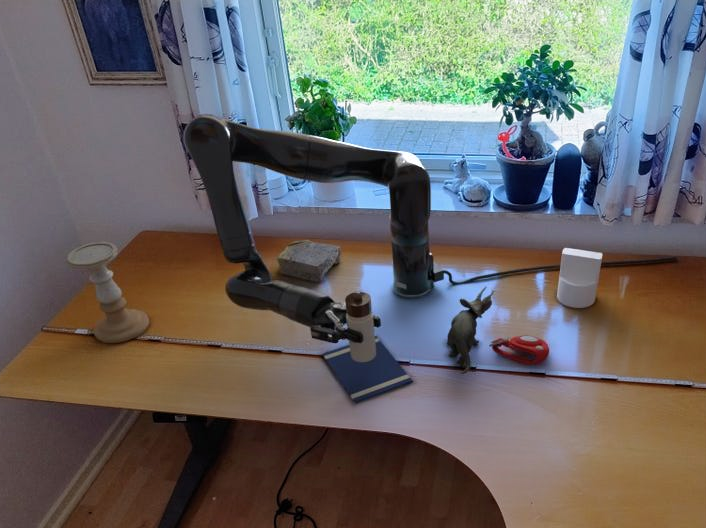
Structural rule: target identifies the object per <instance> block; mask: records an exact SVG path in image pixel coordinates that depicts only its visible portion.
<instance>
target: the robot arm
mask: <svg viewBox="0 0 706 528" xmlns="http://www.w3.org/2000/svg"><path fill="white" fill-rule="evenodd" d="M183 144H184V147H185V149H186V151H187V153H188V154H189V156H190V158H191V161H192V163H193V164H194V166H195V168H196V170H197V173H198V174H199V176H200V180H201V182H202V184H203V188H204V189H205V190H204V191H205V192H206V197H207V198H208V203H209V207H210V209H211V214H212V217H213V223H214V226H215V230H216V233H217V238H218V241H219V244H220V247H221V250H222V254H223V257H224V259H225V261H226V262H227V263H229V264H232V265H234V264H235V265H238V264H241V265H242V266H243V267H244V270H243V271H241V272H239V273H237V274H234V275H233V276H231V277H230V278H228V280H227V281H226V283H225V287H224V288H225V289H224V290H225V294H226V296H227V298H228V299H229V300H230V302H232V303H233V304H234V305H235V306H238V307H240V308H243V309H247V310H256V311H269V312H272V313H274V314H277V315H280V316H282V317H284V318H286V319H288V320H291V321H292V322H295V323H297V324H300V325H303V326H305V327H308V328H309V331H310V337H311V338H312V339H313V340H317V341H322V342H326V343H331V344H338V343H339V342H340V341H341V340H342V341H344V340H345V341H346V340H347V341H348V342H349V341H352V342H355V343H362V342H363V334H362V333H360V332H358V331H355V330H352V329H350V328H347V327H346V326H345V325H347V321H346V314H347V312H346V304H345V302H337V301H335V300H333V298H332V297H330V296H329V295H327V294H324V293H321V292H318V291H315V290H313V289H310V288H307V287H304V286H299V285H295V284H292V283H289V282H286V281H283V280H277V279H273V277H272V274H271V271H270V270H269V268H268V267H267V265H266V263H265V262H264V260H263V257H262V256H261V254H260V253H259V251H258V249H257V247H256V243H255V239H254V235H253V231H252V228H251V224H250V221H249V218H248V215H247V212H246V209H245V207H244V204H243V201H242V198H241V195H240V192H239V188H238V185H237V179H236V176H235V169H234V162H236V163H244V164H251V165H255V166H259V167H262V168H264V169H267V170H270V171H272V172H275V173H278V174H281V175H283V176H287V177H291V178H294V179H298V180H303V181H308V182H313V183H314V182H315V183H319V184H337V183H338V184H339V183H346V182H353V181H358V182H359V181H361V182H368V183H372V184H377V185H380V186H383V187H386V188H388V193H389V204H390V207H389V208H390V214H389V217H388V221H389V222H388V223H389V235H390V236H389V237H390V250H391V262H392V279H393V292H394V293H395V294H396V295H397V296H400V297H402V298H406V299H416V298H417V299H418V298H422V297H425V296H426V295H428V294H429V293H430V292H431V291H432V290H434V289H435V283H437V282H440V281H443V280H445V275H447V276H448V283H450V284H451V285H454V286H457V285H465V284H470V283H472V282H474V281H478V280H483V279H488V278H489V279H490V278H493V277H499V276H504V275H510V274H516V273H523V272H530V271H531V272H532V271H540V270H549V269H559V268H560V267H561V263H560V264H549V265H539V266H534V267H533V266H532V267H523V268H519V269H510V270H506V271H499V272H493V273H488V274H482V275H477V276H474V277H471V278H469V279H467V280H464V281H459V282H458V281H454V280H453V275H452V273H451V272H450V271H448V270H447V269H443V268H442V267H440V266H439V264H437V263H436V262H435V261H434V254H433V253H432V252H431V243H430V241H431V240H430V219H431V214H432V186H431V185H432V184H431V177H430V174H429V172H428V170H427V169H426V167H425V166H424V164H423V162H422V161H421V159H420V158H419V157H417V156H416V154H415V155H414V154H413V153H410V152H406V151H397V150H387V149H385V150H384V149H376V148H375V149H374V148H369V147H364V146H360V145H356V144H351V143H347V142H344V141H339V140H333V139H329V138H326V137H321V136H317V135H311V134H307V133H301V132H293V131H286V130H285V131H284V130H276V129H264V128H258V127H253V126H249V125H245V124H242V123H238V122H235V121H232V120H229V119H226V118H223V117H220V116H217V115H215V114H213V113H212V114H211V113H202V114H198V115H196V116H194V117H193V118H191V120H189V121H188V123H187V124H186V126H185V128H184V131H183ZM675 260H677V256H676V255H675V256H667V257H657V258H645V259H629V260H612V261H601V266H611V265H627V264H629V265H630V264H642V263H643V264H645V263H654V262H667V261H675ZM373 319H374V328H377V329H379V328H381V326H382V319H381V318H380V316H379V315H376V314H373Z"/></svg>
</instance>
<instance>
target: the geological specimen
mask: <svg viewBox="0 0 706 528" xmlns="http://www.w3.org/2000/svg"><path fill="white" fill-rule="evenodd" d="M341 249H342V248H341V246H339V245H333V244H328V243H322V242H316V241H310V240H309V239H305V240H297V241H293V242H291V243H289V244H288V245H287V246H286V247H285V249H284V250H283V251H282V252H281V253H280V254H279V255H278V257H277V258H276V259H277V260H276V262H277V263H278V266H279V267H280V268H281V269H280V271H279V274H281V275H286V276H290V277H293V278H298V279H303V280H306V281H307V280H308V281H311V282H314V283H315V282H316V283H322V282H323V278H324V276H325V275H326V274H327V273H328V271H329V270H330V269H331V268H332V267H333V265H334V266H336V265H338V264H340V263H341V256H342V251H341Z"/></svg>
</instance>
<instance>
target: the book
mask: <svg viewBox="0 0 706 528" xmlns="http://www.w3.org/2000/svg"><path fill="white" fill-rule="evenodd" d="M375 343H376V356H375V358H374V359H372V360H370V361H368V362H357V361H354V360H353V359H352V358H351V355H350V347H349V344H347V345H344V346H341V347H338V348H335V349H332V350H329V351H326V352H324V353H322V357H323V358H324V360H325V362H326V363H327V364H328V366H329V367H330V369H331V370H332V372H333V374H334V375H335V376H336V378H337V379H338V381H339V382H340V384H341V385H342V386H343V388H344V390H345V391H346V392H347V394H348V396H349V397H350V398H351V400H352V402H353V403H354V404H358V403H361V402H364V401H366V400H369V399H371V398H374V397H376V396H380V395H383V394H385V393H387V392H390V391H393V390H397V389H398V388H401V387H404V386H407V385H410V384H412V383H413V382H414V380H413V379H412V378H411V376H410V375H409V374H408V373H407V372H406V370H405V369H404V368H403V367H402V365H401V364H400V363H399V362H398V361H397V360H396V358H395V357H394V355H393V354H392V353H391V351H389V349H388V348H387V347H386V346H385V345H384V343H383V342H382V341H381V339H379V337H378V336H377V335H375Z"/></svg>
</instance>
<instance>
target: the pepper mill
mask: <svg viewBox="0 0 706 528" xmlns="http://www.w3.org/2000/svg"><path fill="white" fill-rule="evenodd" d="M344 303H345V304H346V312H347V314H346V321H347V323H346V329H347V328H350V329H352V330H355V331H358V332H360V333H362V334H363V342H362V343H355V342H352V341H349V340H348V345H349V347H350V355H351V358H352V359H353V360H354V361H357V362H368V361H370V360H372V359H374V358H375V356H376V343H375V336H376V333H375V332H376V331H375V327H374V319H373V315H374V311H373V309H372V297H371V295H370V294H369V293H367V292H364V291H355V292H351V293H349V294H347V295H346V296H345V298H344Z"/></svg>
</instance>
